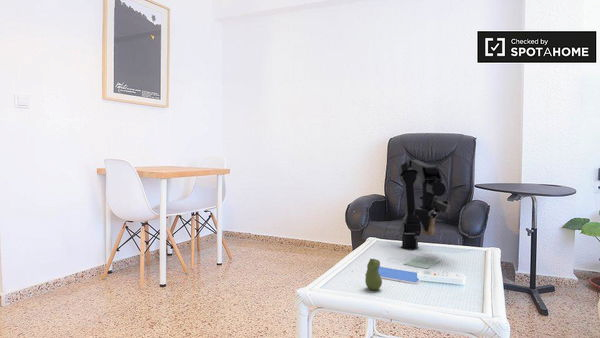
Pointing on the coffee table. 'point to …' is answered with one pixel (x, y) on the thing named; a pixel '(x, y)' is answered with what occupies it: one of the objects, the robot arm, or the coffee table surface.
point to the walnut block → (430, 228)
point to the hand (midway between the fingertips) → (428, 230)
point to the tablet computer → (398, 275)
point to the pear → (373, 275)
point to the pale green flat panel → (421, 262)
